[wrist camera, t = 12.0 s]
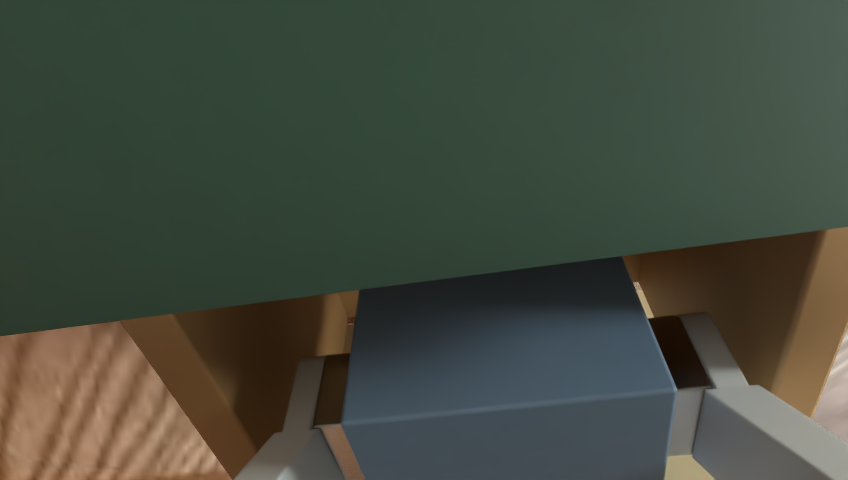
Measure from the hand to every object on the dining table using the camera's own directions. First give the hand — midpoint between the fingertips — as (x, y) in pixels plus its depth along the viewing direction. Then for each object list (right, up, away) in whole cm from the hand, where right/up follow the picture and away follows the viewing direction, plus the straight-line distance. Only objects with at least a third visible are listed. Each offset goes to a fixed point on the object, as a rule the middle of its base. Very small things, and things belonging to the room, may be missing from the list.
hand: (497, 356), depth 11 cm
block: (0, +1, +1) cm, 2 cm away
